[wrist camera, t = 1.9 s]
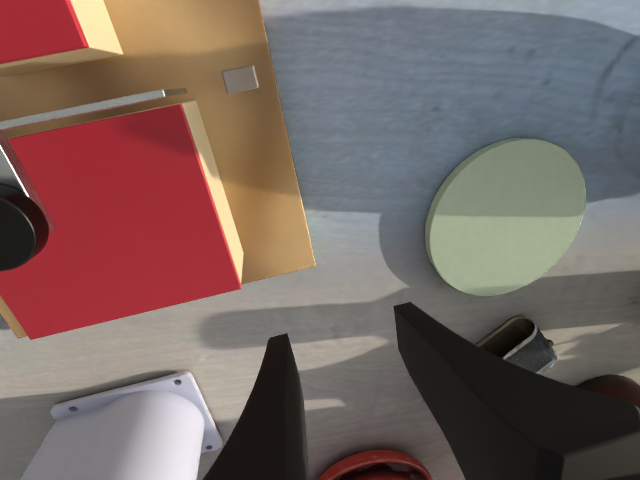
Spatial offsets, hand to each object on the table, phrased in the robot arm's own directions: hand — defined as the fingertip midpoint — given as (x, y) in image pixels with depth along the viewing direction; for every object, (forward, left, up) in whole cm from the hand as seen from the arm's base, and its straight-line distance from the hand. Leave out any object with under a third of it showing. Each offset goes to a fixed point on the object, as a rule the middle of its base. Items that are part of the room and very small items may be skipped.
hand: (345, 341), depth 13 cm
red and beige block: (-9, +4, -9) cm, 14 cm away
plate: (+13, -2, -10) cm, 17 cm away
